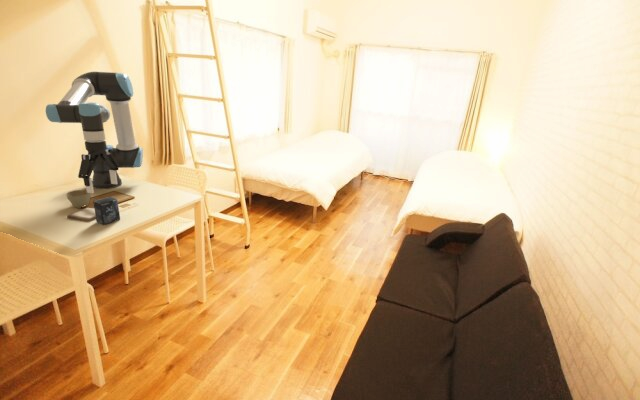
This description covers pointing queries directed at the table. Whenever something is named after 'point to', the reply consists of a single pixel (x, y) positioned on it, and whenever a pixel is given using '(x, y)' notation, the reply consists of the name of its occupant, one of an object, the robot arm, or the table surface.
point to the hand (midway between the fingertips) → (103, 188)
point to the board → (83, 214)
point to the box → (106, 210)
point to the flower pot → (79, 198)
